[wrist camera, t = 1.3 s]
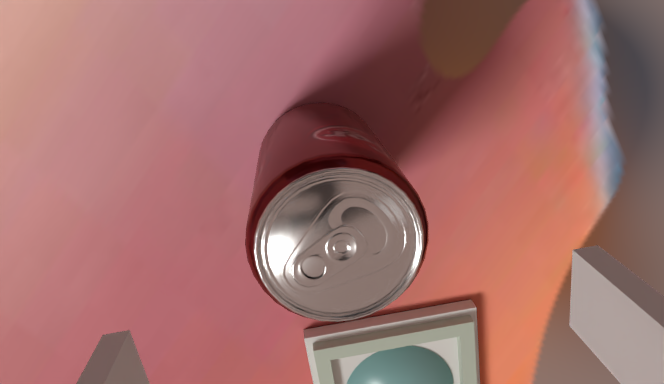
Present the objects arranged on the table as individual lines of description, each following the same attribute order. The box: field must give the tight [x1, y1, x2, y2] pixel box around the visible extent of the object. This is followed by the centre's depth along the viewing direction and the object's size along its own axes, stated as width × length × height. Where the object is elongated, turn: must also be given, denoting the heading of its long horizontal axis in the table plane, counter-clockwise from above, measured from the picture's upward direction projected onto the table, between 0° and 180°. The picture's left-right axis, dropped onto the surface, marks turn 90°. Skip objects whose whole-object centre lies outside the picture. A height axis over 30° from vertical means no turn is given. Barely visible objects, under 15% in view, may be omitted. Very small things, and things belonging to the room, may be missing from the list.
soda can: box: [245, 103, 428, 322], centre depth 24 cm, size 7×7×12 cm
